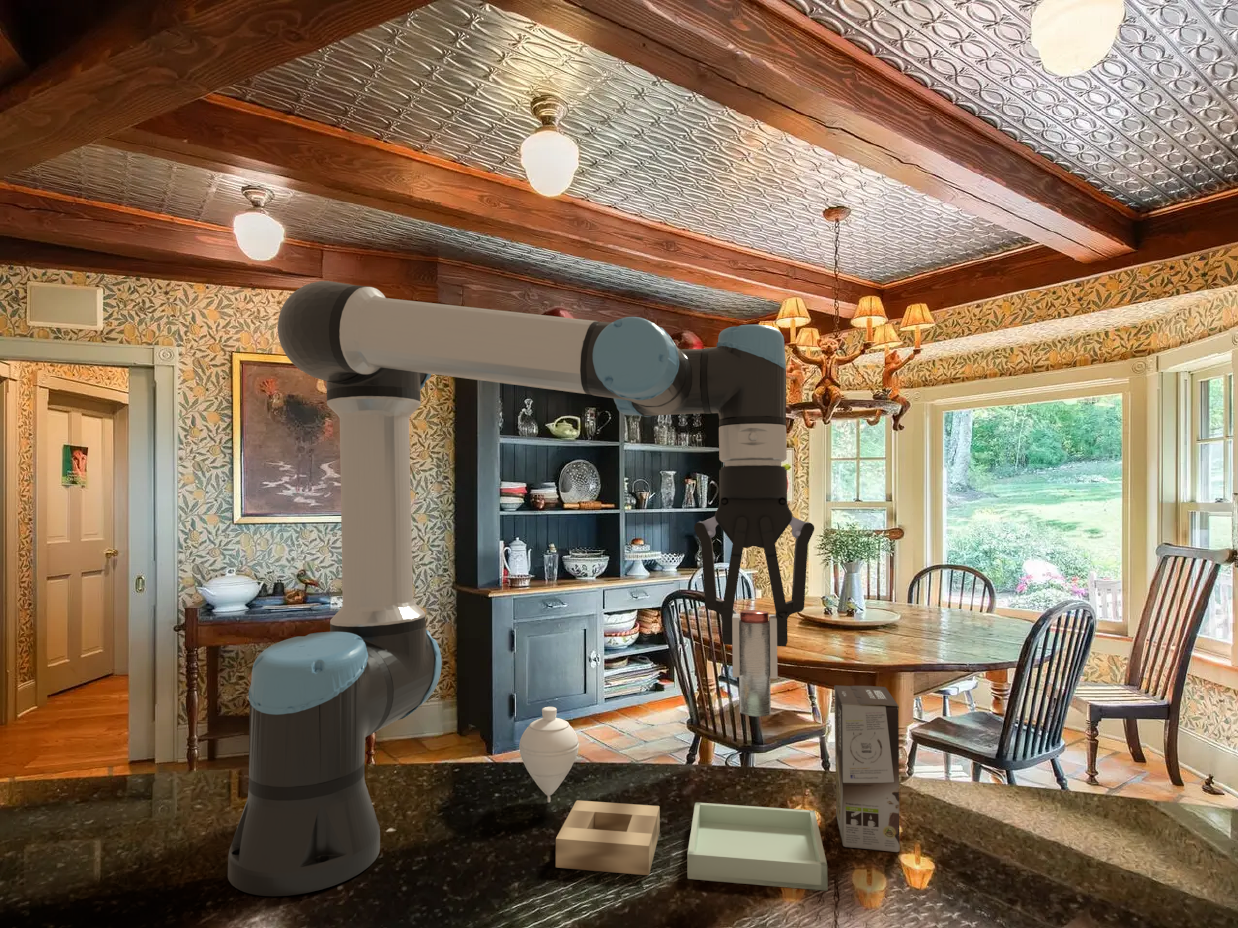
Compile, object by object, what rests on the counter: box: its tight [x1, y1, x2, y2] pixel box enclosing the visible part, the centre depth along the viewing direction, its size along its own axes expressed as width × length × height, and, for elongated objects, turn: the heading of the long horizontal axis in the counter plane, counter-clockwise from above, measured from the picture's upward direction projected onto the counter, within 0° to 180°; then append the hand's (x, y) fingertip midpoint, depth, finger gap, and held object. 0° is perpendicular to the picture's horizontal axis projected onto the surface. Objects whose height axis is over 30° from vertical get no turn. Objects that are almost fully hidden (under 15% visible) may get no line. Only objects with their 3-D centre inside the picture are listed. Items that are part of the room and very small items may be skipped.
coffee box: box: [833, 684, 901, 853], centre depth 87 cm, size 9×6×16 cm
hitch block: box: [555, 800, 661, 876], centre depth 83 cm, size 10×10×3 cm
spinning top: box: [518, 706, 580, 803], centre depth 95 cm, size 8×8×12 cm
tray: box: [686, 801, 829, 892], centre depth 81 cm, size 14×13×2 cm
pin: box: [738, 609, 772, 717], centre depth 82 cm, size 3×3×11 cm
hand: (754, 674), depth 82 cm, fingers closed on pin, 3 cm apart
